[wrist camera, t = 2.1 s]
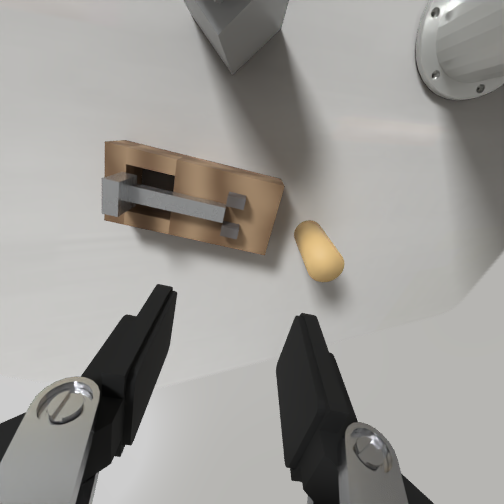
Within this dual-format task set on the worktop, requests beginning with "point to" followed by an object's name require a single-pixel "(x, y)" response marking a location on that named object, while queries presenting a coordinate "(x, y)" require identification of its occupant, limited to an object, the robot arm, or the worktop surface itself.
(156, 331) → the robot arm
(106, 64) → the worktop surface
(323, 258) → the peg
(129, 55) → the worktop surface
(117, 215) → the lock pin
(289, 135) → the worktop surface
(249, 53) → the perfume bottle
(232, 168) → the socket block
